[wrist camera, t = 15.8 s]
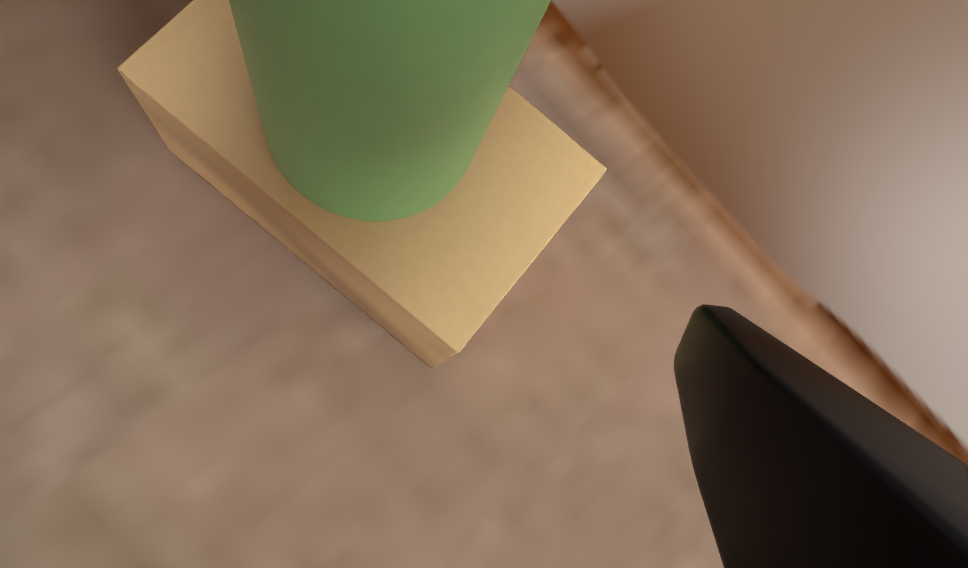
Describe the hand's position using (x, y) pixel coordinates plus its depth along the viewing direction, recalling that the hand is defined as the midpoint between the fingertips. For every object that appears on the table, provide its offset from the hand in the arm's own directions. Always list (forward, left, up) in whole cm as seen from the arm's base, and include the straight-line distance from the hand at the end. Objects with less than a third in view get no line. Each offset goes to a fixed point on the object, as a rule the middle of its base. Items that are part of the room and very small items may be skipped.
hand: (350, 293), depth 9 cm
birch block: (+3, -5, -12) cm, 13 cm away
